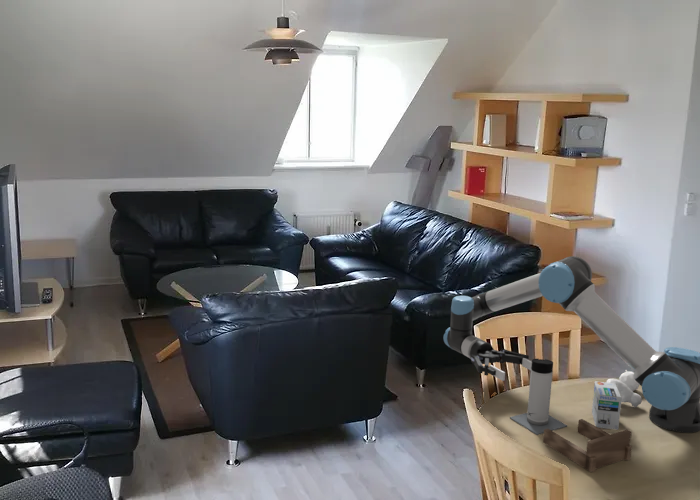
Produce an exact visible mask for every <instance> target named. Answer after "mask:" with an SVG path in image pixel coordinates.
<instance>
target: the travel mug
mask: <svg viewBox="0 0 700 500" xmlns="http://www.w3.org/2000/svg"><path fill="white" fill-rule="evenodd" d="M531 361H532V366H531V370H530V376H529V378H530V379H529V391H528V402H527V412H526V413H527V421H528V422H529V423H531V424H534V425H539V426H541V425H546V424H547V423H548V417H549V415H550V405H551V404H550V403H551V395H552V385H553V383H552V381H553V373H554V371H553V369H554V362H553V361H552V360H550V359H546V358H545V359H539V358H532V359H531Z"/></svg>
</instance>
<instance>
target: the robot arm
mask: <svg viewBox="0 0 700 500" xmlns="http://www.w3.org/2000/svg"><path fill="white" fill-rule="evenodd" d="M592 279H593V270H592V268H591V266H590V264H589V262H587V261H586V260H585V259H584V258H581V257H579V256H567V257H565V258H562V259H559V260H558V261H555V262H551V263H550V264H549V265H547V266H546V267H544V268H543V269H542V270H541V272H539V273H537V274H534V275H530V276H528V277H525V278H522V279H519V280H516V281H514V282H511V283H508V284H505V285H502V286H499V287H497V288H493V289H491V290H488V291H486V292H481V293H478V294H476V295H475V296H472V297H471V296H468V295H457V296H454V297H453V298H452V299H451V300H452V301H451V307H450V327H448V328H447V329H445V332H444V334H443V342H444V344H445V345H446V346H447V347H448V348H450V349H451V350H453V351H456V352H457V353H459V354H462V355H463V356H465V357H467V358H469V359H470V360H471V361H470V363H472V364H473V365H474V366H475V369H476V371H477V372H478V373H479V374H483V375H484V376H488V375H491V376H493V377H494V378H497V379H498V380H501V381H502V382H503V381H505V378H506V372H505V371H504V370H502V369H499V368H498V367H496V366H495V365H492V364H495V363H500V364H504V363H508V364H515V365H521V367H523V368H525V369H527V370H529V371H531V366H532V360H530V356H529V355H527V354H524V353H520V352H516V351H512V350H507V349H505V348H501V350H500V351H499V350H495V349H494V347H493V345H492V344H491V343H489V342H487V341H485V340H484V339H481V338H480V337H478V336H475V335H473V333H472V332H473V323H474V322H473V321H475V320H478V319H479V318H482V317H483V316H486V315H489V314H491V313H492V314H493V313H494V312H498V311H500V310H503V309H507V308H510V307H513V306H517V305H519V304H522V303H526V302H528V301H531V300H535V299H538V298H541V297H543V298H544V299H545V300H546V301H548V302H551V303H555V304H558V305H560V306H561V307H562V308H563V310H565V311H566V312H574V313H575V314H576V315H577V317H579V318H580V319H581V320H582V321H583V322H584V323H585V324H586V325H587V326H588V327H589V328H590V329H591V330H592V332H594V333H595V334H596V335H597V337H599V338H600V339H601V340H602V341H603V342H604V343H605V344H606V346H608V348H610V349H611V350H612V351H613V352H614V353H615V354H616V355H617V356H618V357H619V358H620V359H621V360H622V361H623V362H624V363H625V365H627V366H628V367H629V368H630V369H631V370H632V372H633V373H634V379H635V380H636V381H637V382H638V383H639V384H640V385H639V386H640V387H641V390H642V395H643V397H644V399H645V400H646V402H647V403H649V404H650V405H651V406H650V409H649V414H648V418H649V420H650V421H651V422H652V423H653V424H655V425H657V426H659V427H660V428H663V429H665V430H669V431H672V432H676V433H678V432H679V433H688V434H689V433H697V432H700V352H699V351H696V350H693V349H689V348H685V347H678V346H675V347H674V346H671V347H670V346H669V347H665V348H664V349H663V351H657V350H655V349H654V348H653V347H652V346H651V345H650V344H649V343H648V342H647V341H646V340H645V339H644V338H643V337H642V336H641V335H640V334H639V333H638V332H636V330H634V328H633V327H632V326H630V325H629V324H628V323H627V321H626V320H624V318H622V317H621V316H620V315H619V314H618V313H617V312H616V311H615V310H614V309H613V308H612V307H611V306H610V305H609V304H608V303H607V301H605V300H604V299H602V298H601V296H600V295H598V293H596V286H595V283H594V282H593V281H592Z"/></svg>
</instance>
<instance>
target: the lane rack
mask: <svg viewBox="0 0 700 500" xmlns="http://www.w3.org/2000/svg"><path fill="white" fill-rule="evenodd" d="M576 430H577V432H576V433H577V434H580V435H582V436H583V437H585V438H587V439H588V440H587V441H586V450H585V449H584V448H581V447H580V446H578V445H576V444H575V443H573V442H572V441H570V440H568V439H566V438H565V437H563V436H561V435H560V434H558V433H557V432H555V431H551V430H550V429H544V433H543V436H542V438H543V439H542V443H543V444H545V445H547V446H548V447H550V448H551V449H553V450H554V451H556V452H558V453H559V454H561V455H562V456H564V457H565V458H567V459H569V460H570V461H572V462H574V463H575V464H577V465H579V466H580V467H581V468H583V469H584V470H586V471H588V472H590V473H594V472H596V470H597V469H600V468H603V467H606V466H609V465H612V464H614V463H617V462H621V461H626V462H627V461H630V460H631V457H632V449H633V445H631V438H632V437H631V436H632V430H629V429H627V428H626V429H624V430H620V431H617V432H614V433H609V432H607V431H605V430H603V428H598V427H596V426H595V424H592V423H590V422H589V421H587V420H585V419H583V418H581V419H578V421H577V429H576Z"/></svg>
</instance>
